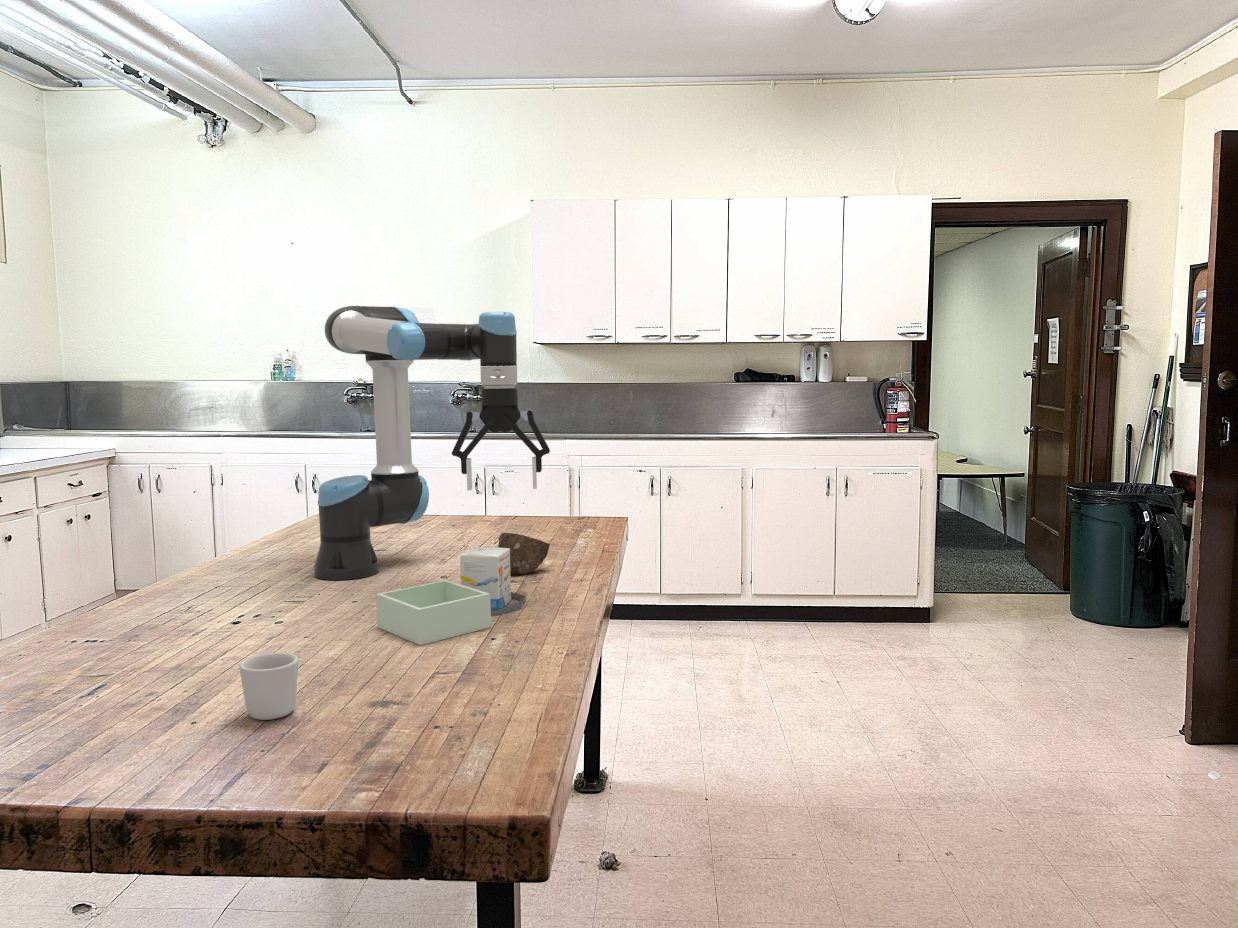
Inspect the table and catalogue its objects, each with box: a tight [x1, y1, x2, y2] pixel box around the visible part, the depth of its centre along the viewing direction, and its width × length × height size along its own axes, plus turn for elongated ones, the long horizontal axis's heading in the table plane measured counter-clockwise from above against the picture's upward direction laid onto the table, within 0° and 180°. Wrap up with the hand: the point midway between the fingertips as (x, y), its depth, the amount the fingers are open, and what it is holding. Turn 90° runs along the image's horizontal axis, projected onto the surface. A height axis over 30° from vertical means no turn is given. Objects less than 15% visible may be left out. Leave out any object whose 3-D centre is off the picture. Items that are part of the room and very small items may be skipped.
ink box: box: [459, 546, 512, 609], centre depth 186 cm, size 9×8×12 cm
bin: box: [375, 579, 492, 646], centre depth 170 cm, size 16×16×7 cm
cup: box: [239, 652, 299, 721], centre depth 130 cm, size 11×8×8 cm
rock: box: [497, 532, 551, 576], centre depth 213 cm, size 12×10×10 cm
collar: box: [491, 591, 526, 616], centre depth 186 cm, size 16×16×1 cm
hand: (502, 488), depth 186 cm, fingers open, 13 cm apart
